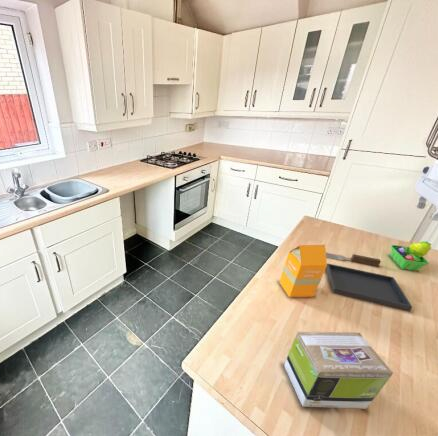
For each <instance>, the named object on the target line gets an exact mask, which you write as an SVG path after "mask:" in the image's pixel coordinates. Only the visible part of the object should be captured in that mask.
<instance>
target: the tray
mask: <svg viewBox="0 0 438 436" xmlns="http://www.w3.org/2000/svg"><path fill="white" fill-rule="evenodd" d="M325 271H326V274H327V278H328V280H329V284H330V287H331V290H332V293H334V294H337V295H342V296H346V297H350V298H353V299H358V300H361V301H367V302H370V303H375V304H379V305H382V306H386V307H391V308H394V309H398V310H402V311H407V312H410V311H411V310H412V308H413V306H412V304H411V302H410V301H409V300H408V298H407V296H406V295H405V293H404V292H403V290H402V289H401V287H400V285H399V284H398V282H397V281H396V279H395V278H394V277H393V276H390V275H385V274H380V273H376V272H371V271H366V270H365V271H364V270H361V269H356V268H351V267H346V266H341V265H337V264H333V263H328V262H327V267H326V269H325Z"/></svg>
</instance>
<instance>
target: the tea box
mask: <svg viewBox="0 0 438 436" xmlns="http://www.w3.org/2000/svg"><path fill="white" fill-rule="evenodd" d="M283 367H284V370H285V371H286V373H287V375H288V378H289V380H290V383H291V385H292V386H293V389H294V391H295V393H296V396H297V398H298V400H299V402H300V404H301V405H302V407H304V408H305V407H308V408H336V409H362V410H363V409H368V408H369V406H370V405H371V403H372V402H373V400H374V399H375V398H376V397H377V396H378V394H379V393H380V392H381V391H382V389H383V388H384V386H385V385H386V383H388V381H389V379H390V378H391V377H392V375H393V374H394V372H393V371H392V370H391V369H390V367H389V366H388V365H387V364H386V362H384V361H383V359H382V358H381V357H380V356H379V355H378V353H377V352H376V351H375V350H374V349H373V347H372V346H371V345H370V344H369V342H368V341H367V340H366V339H365V338H364V337H363V335H362V334H361V332H354V331H353V332H351V331H297V333H296V335H295V337H294V339H293V342H292V345H291V348H290V350H289V352H288V354H287V357H286V359H285V362H284V366H283Z"/></svg>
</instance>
